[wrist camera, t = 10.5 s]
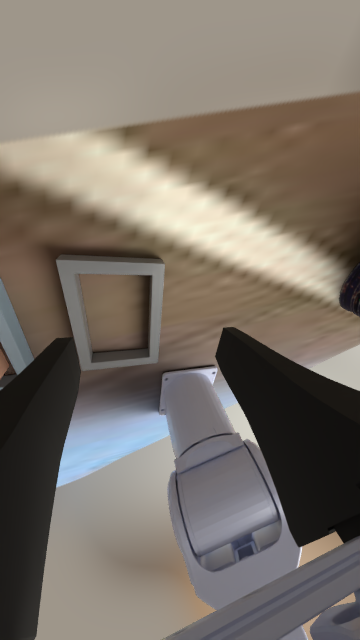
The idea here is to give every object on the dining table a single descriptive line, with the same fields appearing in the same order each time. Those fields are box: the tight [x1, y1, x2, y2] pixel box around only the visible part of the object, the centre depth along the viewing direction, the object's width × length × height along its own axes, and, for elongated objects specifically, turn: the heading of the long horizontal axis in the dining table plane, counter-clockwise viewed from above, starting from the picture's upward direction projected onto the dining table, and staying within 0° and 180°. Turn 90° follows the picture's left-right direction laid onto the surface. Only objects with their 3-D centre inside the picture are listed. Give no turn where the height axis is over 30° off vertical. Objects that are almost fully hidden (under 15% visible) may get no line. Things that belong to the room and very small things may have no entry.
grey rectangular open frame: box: [56, 254, 165, 371], centre depth 18 cm, size 12×8×2 cm
